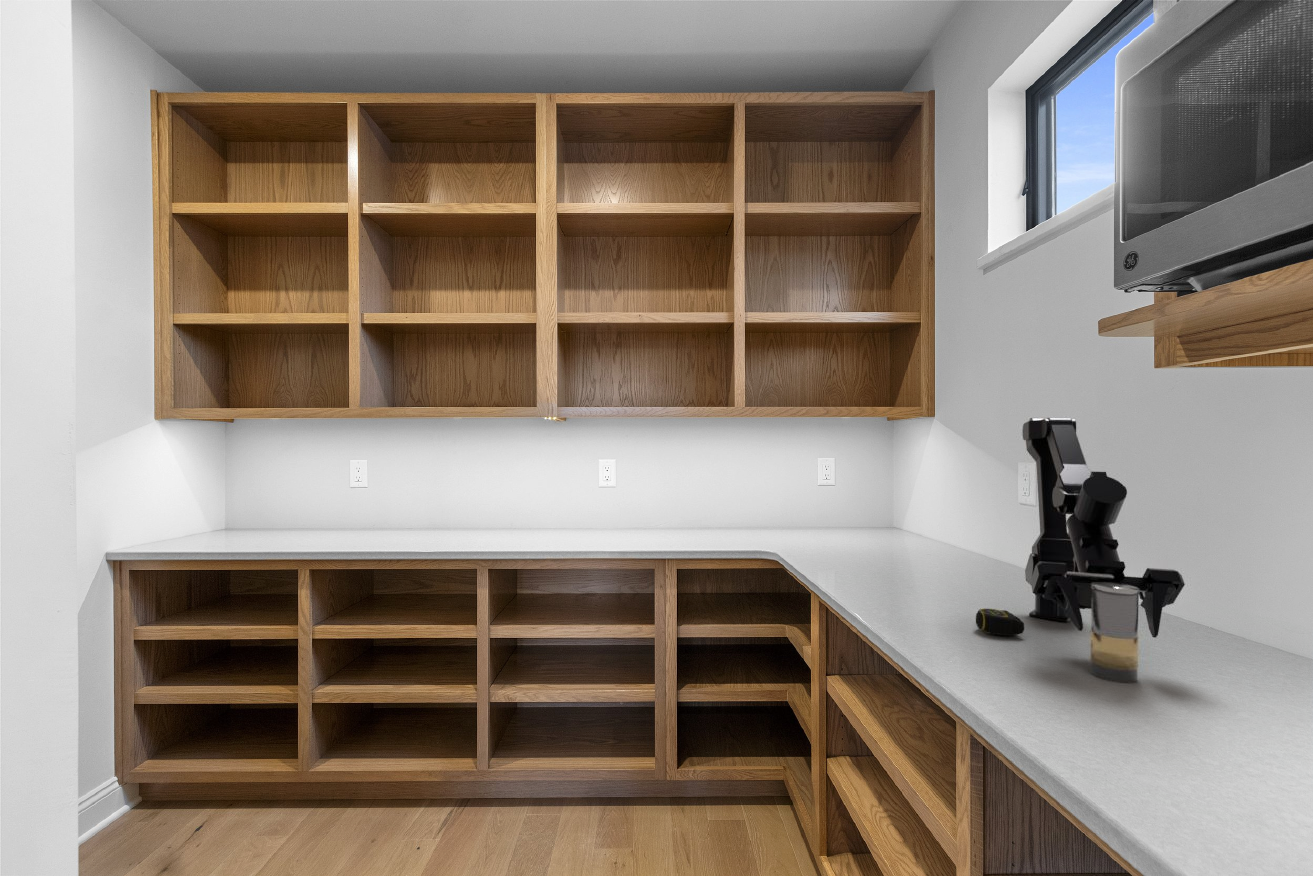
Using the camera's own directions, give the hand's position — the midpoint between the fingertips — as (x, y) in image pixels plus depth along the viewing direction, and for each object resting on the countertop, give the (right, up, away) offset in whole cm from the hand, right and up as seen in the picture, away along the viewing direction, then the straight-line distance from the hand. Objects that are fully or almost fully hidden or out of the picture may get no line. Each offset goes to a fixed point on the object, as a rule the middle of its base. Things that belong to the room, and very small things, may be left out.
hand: (1117, 632), depth 95 cm
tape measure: (-5, -7, +22) cm, 24 cm away
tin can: (0, -7, +1) cm, 7 cm away
